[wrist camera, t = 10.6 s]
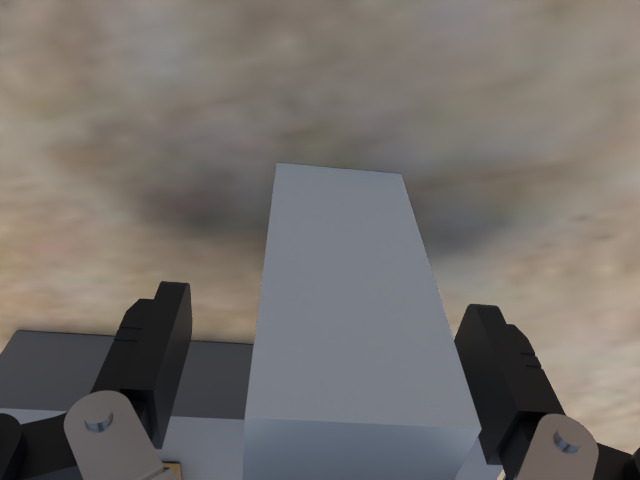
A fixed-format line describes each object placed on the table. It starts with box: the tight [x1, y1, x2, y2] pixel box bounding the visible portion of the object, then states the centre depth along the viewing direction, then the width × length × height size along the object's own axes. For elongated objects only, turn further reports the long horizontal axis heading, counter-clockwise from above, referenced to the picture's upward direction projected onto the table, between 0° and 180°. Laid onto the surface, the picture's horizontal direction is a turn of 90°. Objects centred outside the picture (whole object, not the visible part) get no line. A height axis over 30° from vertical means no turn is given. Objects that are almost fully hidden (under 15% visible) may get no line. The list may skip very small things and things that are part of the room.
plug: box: [243, 163, 482, 480], centre depth 13 cm, size 5×4×9 cm
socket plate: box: [0, 331, 503, 480], centre depth 23 cm, size 14×20×4 cm
